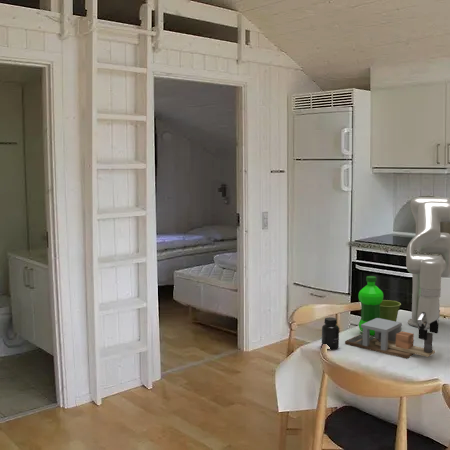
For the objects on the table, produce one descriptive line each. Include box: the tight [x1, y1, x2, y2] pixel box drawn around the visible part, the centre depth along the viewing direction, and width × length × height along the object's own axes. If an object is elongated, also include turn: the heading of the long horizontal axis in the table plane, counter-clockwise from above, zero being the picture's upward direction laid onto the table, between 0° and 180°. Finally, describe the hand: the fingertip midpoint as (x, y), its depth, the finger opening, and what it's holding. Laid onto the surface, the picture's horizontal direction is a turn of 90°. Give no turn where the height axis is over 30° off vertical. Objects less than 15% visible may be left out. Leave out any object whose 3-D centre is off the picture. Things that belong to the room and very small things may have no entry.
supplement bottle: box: [321, 316, 340, 351], centre depth 239 cm, size 7×7×12 cm
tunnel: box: [361, 318, 403, 351], centre depth 239 cm, size 13×11×8 cm
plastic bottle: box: [358, 275, 385, 337], centre depth 256 cm, size 10×10×25 cm
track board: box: [344, 334, 415, 360], centre depth 240 cm, size 12×27×1 cm, turn 48°
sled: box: [375, 330, 436, 358], centre depth 233 cm, size 6×22×8 cm, turn 47°
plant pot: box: [380, 299, 402, 322], centre depth 266 cm, size 12×12×11 cm
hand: (428, 335), depth 227 cm, fingers open, 9 cm apart
